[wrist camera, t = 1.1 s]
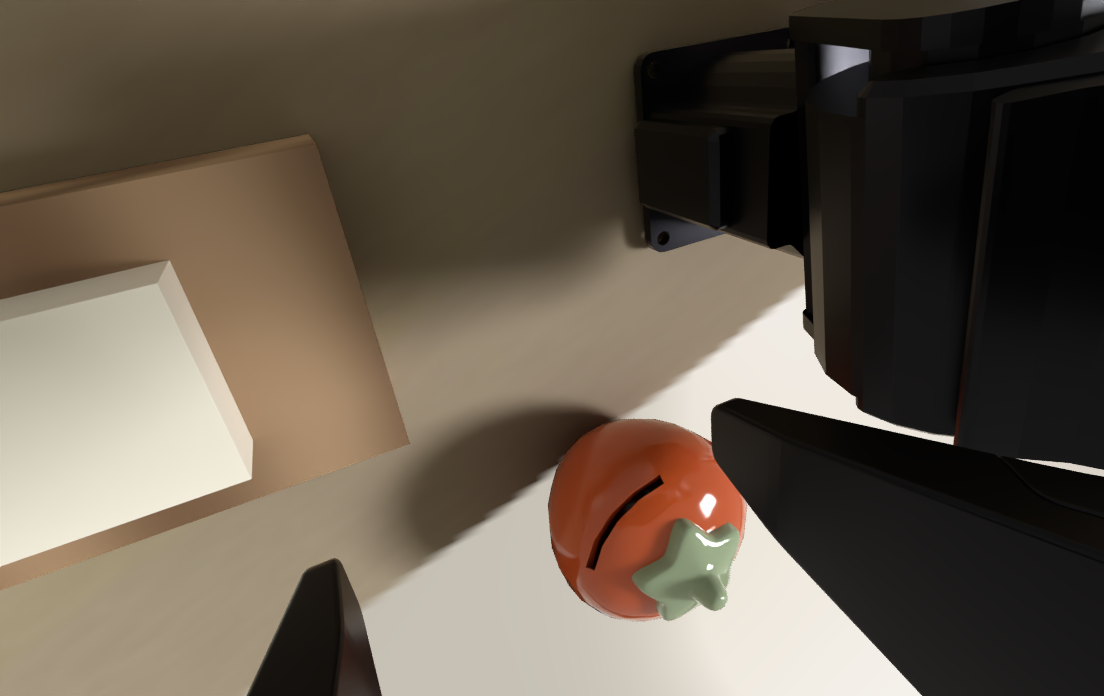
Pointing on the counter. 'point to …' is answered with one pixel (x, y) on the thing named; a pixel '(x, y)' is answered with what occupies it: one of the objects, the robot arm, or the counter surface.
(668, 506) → the tomato
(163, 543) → the counter surface
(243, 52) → the counter surface
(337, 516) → the counter surface
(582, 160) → the counter surface
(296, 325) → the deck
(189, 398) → the white rectangular block
